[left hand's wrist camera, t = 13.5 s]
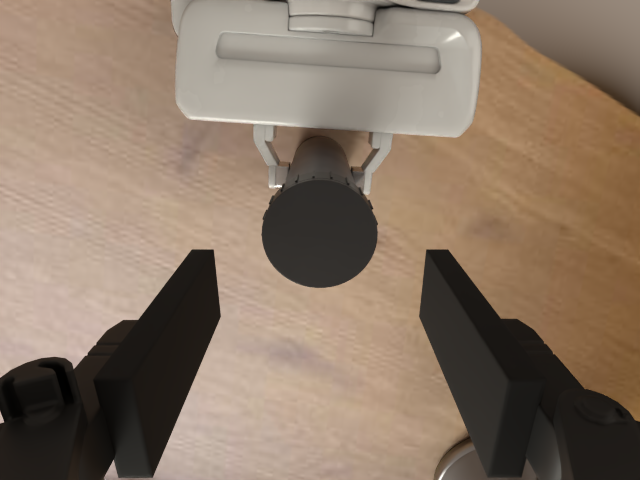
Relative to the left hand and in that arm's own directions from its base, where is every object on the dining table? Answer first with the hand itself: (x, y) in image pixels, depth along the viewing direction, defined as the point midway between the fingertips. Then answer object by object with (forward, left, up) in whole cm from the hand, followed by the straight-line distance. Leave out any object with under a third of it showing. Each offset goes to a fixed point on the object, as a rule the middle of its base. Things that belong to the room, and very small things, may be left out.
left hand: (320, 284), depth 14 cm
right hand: (0, +1, -17) cm, 17 cm away
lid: (0, 0, -5) cm, 5 cm away
